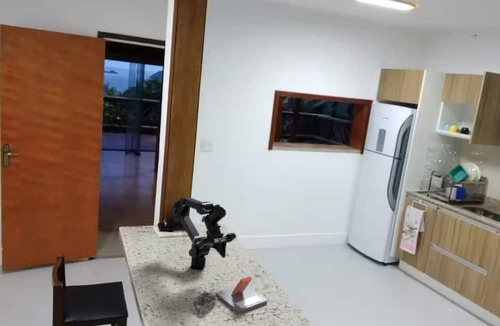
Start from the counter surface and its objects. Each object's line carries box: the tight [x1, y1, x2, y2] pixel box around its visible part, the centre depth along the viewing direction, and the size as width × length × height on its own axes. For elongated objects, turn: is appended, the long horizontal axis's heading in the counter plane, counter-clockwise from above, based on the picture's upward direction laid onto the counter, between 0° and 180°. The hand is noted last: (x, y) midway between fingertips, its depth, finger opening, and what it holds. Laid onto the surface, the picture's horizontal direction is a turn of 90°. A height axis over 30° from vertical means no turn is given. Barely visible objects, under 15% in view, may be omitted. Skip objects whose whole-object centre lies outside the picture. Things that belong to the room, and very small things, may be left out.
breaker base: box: [215, 285, 268, 315], centre depth 174 cm, size 16×16×2 cm
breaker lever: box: [231, 276, 253, 295], centre depth 173 cm, size 2×6×10 cm
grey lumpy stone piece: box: [191, 290, 218, 314], centre depth 166 cm, size 11×8×4 cm
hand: (224, 257), depth 182 cm, fingers closed
